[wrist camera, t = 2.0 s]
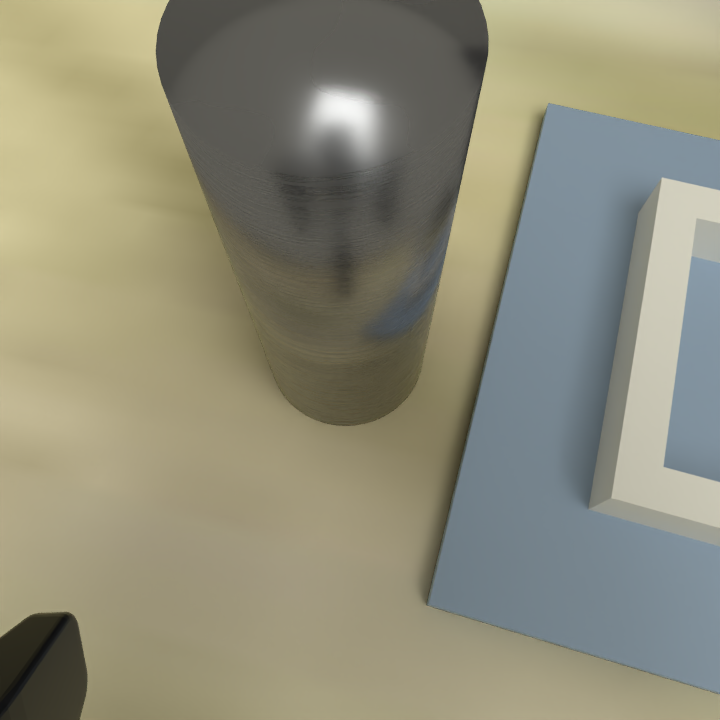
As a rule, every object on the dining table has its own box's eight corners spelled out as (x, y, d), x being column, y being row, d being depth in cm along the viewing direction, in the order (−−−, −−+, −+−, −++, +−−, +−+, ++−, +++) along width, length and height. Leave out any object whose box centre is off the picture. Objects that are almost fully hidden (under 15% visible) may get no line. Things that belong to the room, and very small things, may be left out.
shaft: (314, 453, 21) (243, 231, 9) (245, 325, 23) (106, -11, 11) (451, 380, 22) (554, 85, 10) (375, 260, 24) (384, -119, 11)
